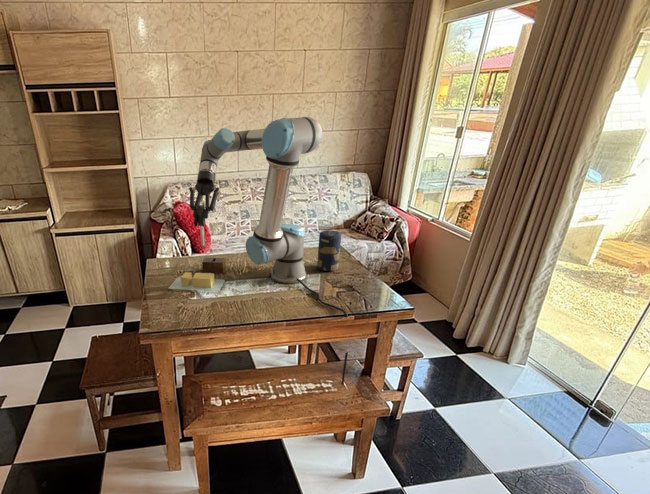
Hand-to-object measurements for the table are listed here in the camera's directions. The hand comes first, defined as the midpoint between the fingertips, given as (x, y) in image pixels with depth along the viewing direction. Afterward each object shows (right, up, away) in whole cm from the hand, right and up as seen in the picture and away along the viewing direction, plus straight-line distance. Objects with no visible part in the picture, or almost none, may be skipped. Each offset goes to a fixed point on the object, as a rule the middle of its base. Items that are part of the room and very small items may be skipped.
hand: (199, 224), depth 167 cm
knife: (+1, -7, +8) cm, 11 cm away
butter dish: (-1, -25, +7) cm, 26 cm away
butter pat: (-6, -24, +8) cm, 25 cm away
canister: (+58, -16, +20) cm, 63 cm away
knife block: (+6, -17, +21) cm, 27 cm away
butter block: (+2, -24, +6) cm, 25 cm away
